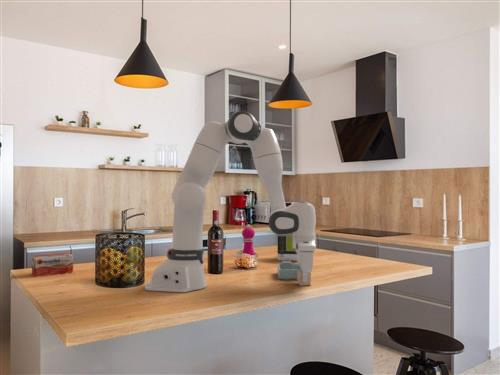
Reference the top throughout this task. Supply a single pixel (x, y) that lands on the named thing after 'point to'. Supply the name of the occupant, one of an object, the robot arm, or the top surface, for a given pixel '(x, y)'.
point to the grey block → (286, 265)
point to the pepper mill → (248, 240)
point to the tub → (288, 272)
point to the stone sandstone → (299, 278)
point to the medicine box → (52, 264)
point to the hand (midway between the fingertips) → (303, 279)
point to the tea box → (286, 248)
